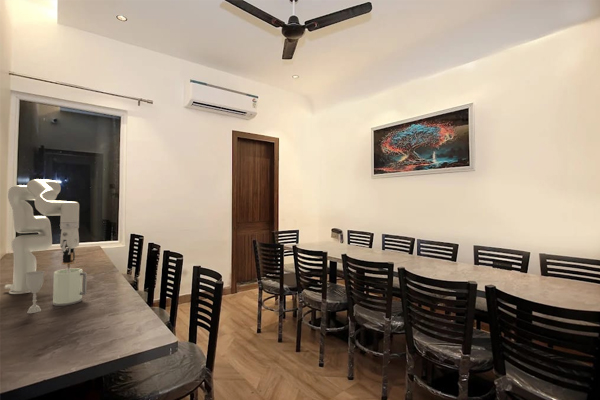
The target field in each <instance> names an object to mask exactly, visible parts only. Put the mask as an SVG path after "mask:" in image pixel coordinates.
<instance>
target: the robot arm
mask: <svg viewBox="0 0 600 400" xmlns="http://www.w3.org/2000/svg"><path fill="white" fill-rule="evenodd" d="M59 193H61V184H60V183H59V182H58V181H56V180H52V179H41V178H40V179H39V178H36V179H35V178H34V179H31V180H30V181H29V180H28V182H27V184H26V185H25V184H23V185H22V184H19V185H17V184H16V185H13V186H10V188H9V189H8V192H7V199H8V202H9V204H10V207H11V210H12V220H13V228H14V231H15V232H16V233H18V234H25V235H18V236H16V237H14V238H13V239H12V242H11V248H12V252H13V271H12V272H13V274H12V275H13V276H12V284H5V285H4V290H5V289H6V290H8V289H10V290H9V291H8V294H10V295H22V294H28V293H31V292H30V290H29V289H28V287H27V284H26V281H27V276H26V274H25V273H28V272H33V271H37V257H36V255H34V254H33V253H32V252H39V251H40V252H41V251H47V250H49V249H50V248H51V247H52V245H53V236H52V226H51V224H52V223H51V221H50V219H49V218H48V217H50V216H52V217H53V216H60V220H59V222H60V223H59V224H60V226H59V227H60V228H59V229H60V230H61V231H60V239H59V241H60V242H59V243H60V244H59V246H60V249H61V252H62V262H63V263H68V262H71V254H70V253H73V261H76V259H75V256H76V254H75V252H76V248H77V247H79V246H80V236H79V235H80V234H79V228H80V203H79V202H78V201H67V200H56V199H57V197H58V195H59ZM28 201H34V207H35V209H36V210H37V211H38V212H39V213H40V214H41V215H34V208H33V207H32V205H31V204H30V203H29V202H28ZM29 233H36V234H29ZM37 233H38V234H37Z"/></svg>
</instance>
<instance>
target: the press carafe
mask: <svg viewBox="0 0 600 400" xmlns="http://www.w3.org/2000/svg"><path fill="white" fill-rule="evenodd" d="M87 277H88V273H87V272H83V268H78V267H77V268H74V267H73V268H70V273H67V268H65V269H64V268H63V269H59V270H56V271H53V287H52V288H53V289H52V290H53V291H52V306H54V307H55V306H56V307H65V306H71V305H75V304H79V303H80V302H82V301H83V296H84V295H86V294H87V279H88V278H87Z"/></svg>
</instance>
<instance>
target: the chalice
mask: <svg viewBox="0 0 600 400" xmlns="http://www.w3.org/2000/svg"><path fill="white" fill-rule="evenodd" d="M45 272H46V271H45V270H36V271H33V272H28V273H25V274H26V276H27V281H26V284H27V287H28V289H29V290H30V293H32V295H33V296H32V300H31V301H32V303H33V304H32V305H31V306H29V308H28V309H27V312H26V313H27V314H36V313H39V312H41V311H42V308H40V306H39V305H37V301H38V300H37V298H38V296H37V293H38V292H39V291H40V290H41V288H42V286H43V284H44V275H45Z"/></svg>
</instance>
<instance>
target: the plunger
mask: <svg viewBox="0 0 600 400" xmlns="http://www.w3.org/2000/svg"><path fill="white" fill-rule="evenodd" d="M70 254H71V262H68V263H63V261H62V262H61V265H66V269H67V273H70V269H71V265H72V264H76V260H74V261H73V253H70Z"/></svg>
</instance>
